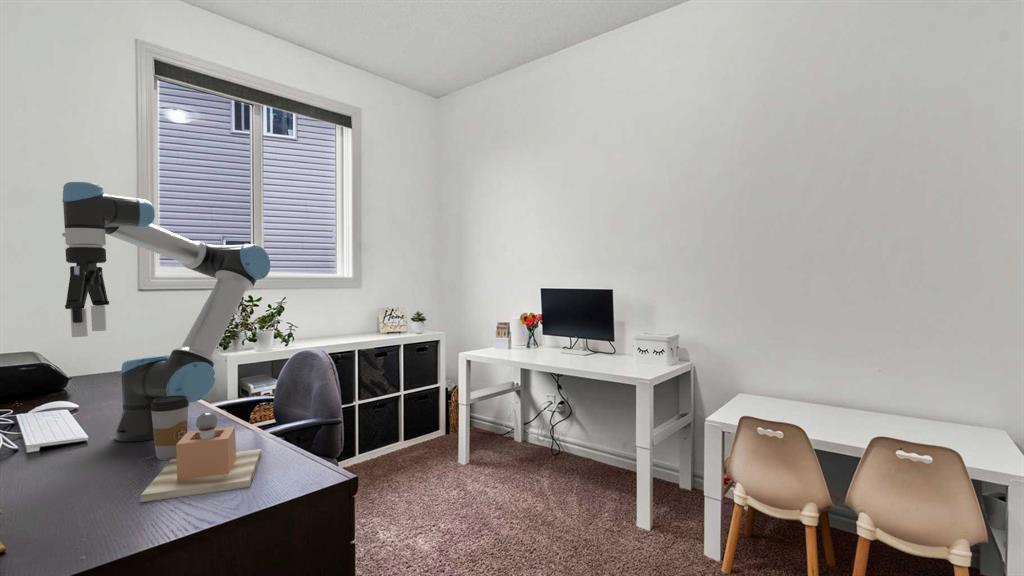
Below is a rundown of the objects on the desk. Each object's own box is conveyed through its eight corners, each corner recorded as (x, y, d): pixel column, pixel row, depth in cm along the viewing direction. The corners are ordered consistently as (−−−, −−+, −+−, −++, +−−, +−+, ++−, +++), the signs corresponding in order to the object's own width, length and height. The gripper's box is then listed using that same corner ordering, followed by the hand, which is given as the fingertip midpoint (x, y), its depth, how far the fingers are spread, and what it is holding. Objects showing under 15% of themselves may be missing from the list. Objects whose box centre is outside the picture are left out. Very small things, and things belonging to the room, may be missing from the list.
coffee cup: (170, 462, 125) (169, 403, 125) (143, 460, 127) (141, 401, 127) (197, 451, 134) (196, 395, 133) (171, 449, 135) (170, 394, 135)
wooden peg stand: (171, 465, 124) (169, 406, 123) (261, 454, 131) (260, 398, 130) (140, 502, 103) (139, 431, 103) (249, 486, 110) (248, 420, 110)
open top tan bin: (188, 464, 120) (187, 431, 120) (235, 458, 123) (235, 426, 123) (177, 480, 110) (176, 444, 110) (228, 473, 114) (227, 438, 114)
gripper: (84, 249, 132) (88, 329, 133) (43, 243, 109) (48, 340, 110) (119, 249, 135) (123, 327, 136) (87, 244, 112) (91, 338, 113)
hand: (89, 333), depth 123 cm, fingers open, 13 cm apart
